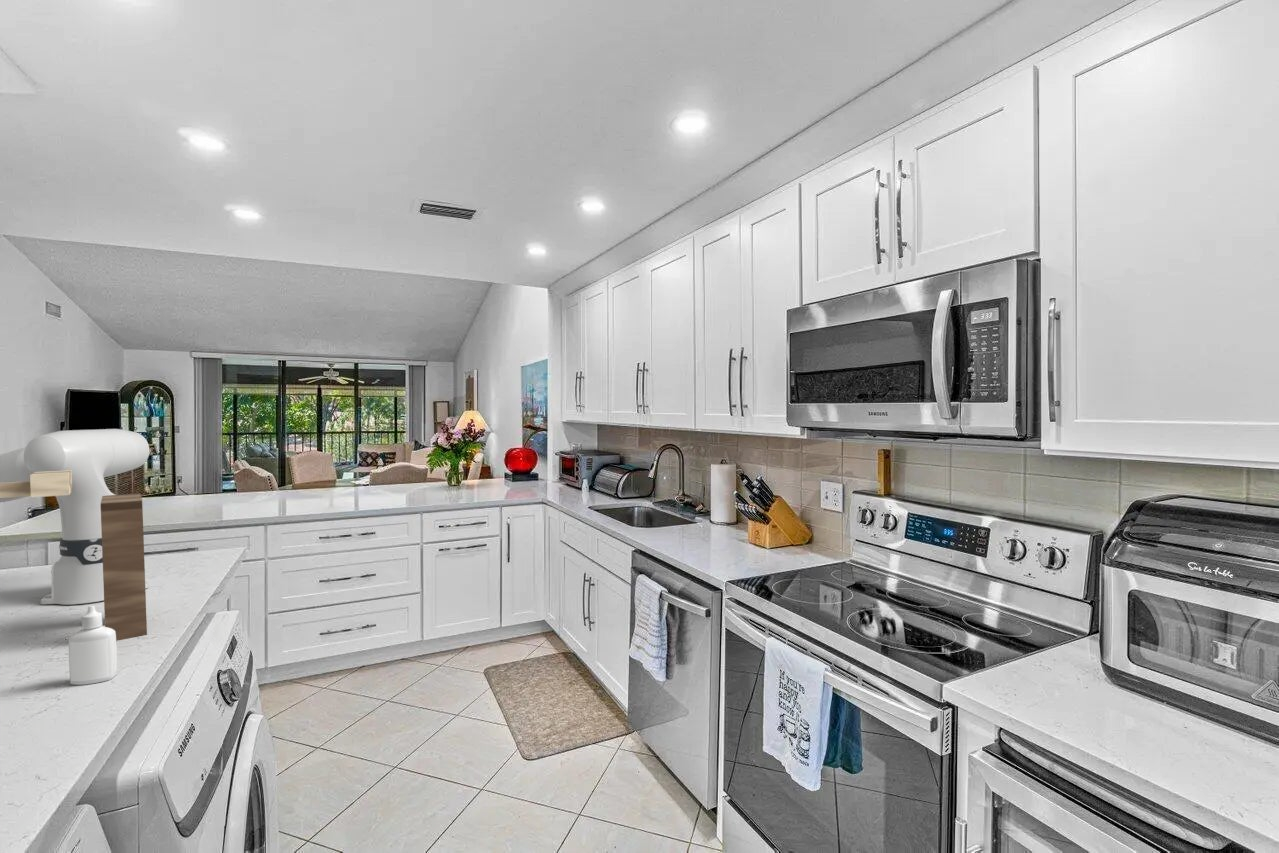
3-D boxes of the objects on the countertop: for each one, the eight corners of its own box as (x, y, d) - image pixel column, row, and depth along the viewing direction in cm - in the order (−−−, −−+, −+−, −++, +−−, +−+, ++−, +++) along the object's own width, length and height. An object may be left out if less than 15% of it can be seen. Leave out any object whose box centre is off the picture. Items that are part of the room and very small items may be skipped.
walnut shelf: (106, 622, 124) (102, 496, 124) (144, 616, 128) (140, 493, 127) (105, 642, 114) (100, 503, 113) (146, 634, 118) (142, 500, 117)
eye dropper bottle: (93, 687, 95) (90, 611, 95) (65, 684, 96) (62, 609, 96) (122, 675, 99) (119, 602, 99) (94, 672, 100) (92, 600, 100)
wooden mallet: (-35, 497, 109) (-36, 475, 109) (72, 490, 118) (71, 470, 118) (-45, 502, 103) (-45, 478, 103) (69, 494, 112) (68, 473, 112)
